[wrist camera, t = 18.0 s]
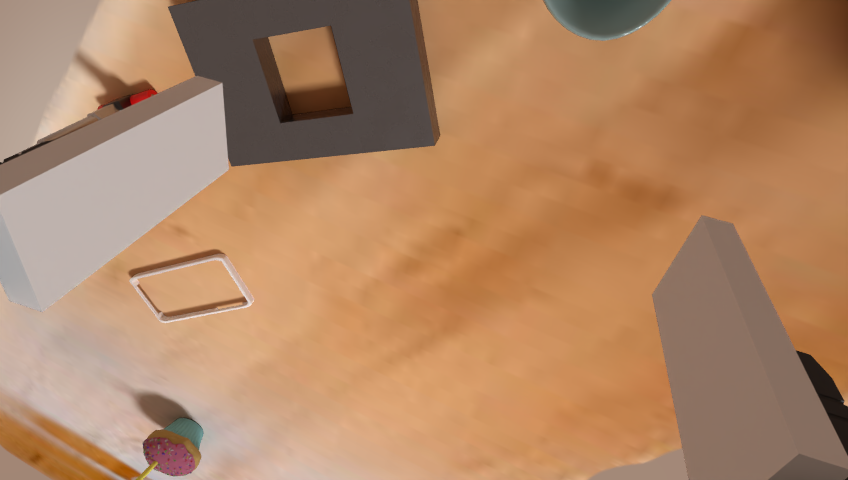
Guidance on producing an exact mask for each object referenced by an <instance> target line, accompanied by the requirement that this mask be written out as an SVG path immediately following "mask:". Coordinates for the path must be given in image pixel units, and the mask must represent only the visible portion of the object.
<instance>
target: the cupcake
mask: <svg viewBox="0 0 848 480" xmlns="http://www.w3.org/2000/svg"><path fill="white" fill-rule="evenodd" d="M202 437H203V430H202V428H201V427H200V426H199V425H198V424H197V423H196V422H194V421H192V420H190V419H187V418H179V419H177V420H175V421H174V422H173V423H172V424H170V425H169V426H167V427H166V428H164V429H163V430H155V431H154V432H153V433H152V434H150V435H149V436H148V438H147V439H146V440H145V441H144V442H143V448H144V452H143V453H144V454H145V455H144V456H146V458H145V459H146V460H147V462H148V463H149V464H150V466H149V467H148V468H147V469H146V470H145V471H144V472H143V473H142V474H141V475H140V476H139V477H138V478H137V479H136V480H142V479H143V478H144V477H145V476H146V475H147V474H148V473H149V472H150V471H151V470H152V469H155V470H158V471H160V472H162V473H165V474H167V475H170V476H182V475H187V474H188V473H191V472H192V471H193V470H195V469H196V468H197V466H198V464H199V461H200V459H201V454H200V452H199V446H200V443H201V440H202Z"/></svg>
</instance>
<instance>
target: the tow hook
mask: <svg viewBox="0 0 848 480" xmlns="http://www.w3.org/2000/svg"><path fill="white" fill-rule="evenodd" d="M156 94H157V92H156V91H154V90H152V89H150V90H147V91H144V92H141V93H138V94H131V95H128V96H125V97H122V98H119V99H116V100H114V101H112V102H110V103H107V104H104V105H101V106H99V107H98V110H96V111H94V112H92V113H90V114H88V115H87V117H86V118H84V119H82V120H80V121H78V122H76V123H74V124H71V125H69V126H67V127H65V128H63V129H61V130H59V131H57V132H55V133H53V134H50V135H48V136H46V137H44V138H42V139H40V140H38V141H37V144H36V145H38V144H40V143H42V142H45V141H50V140H54V139H58V138H61V137H63V136H65V135H67V134H70V133H72V132H74V131H76V130H78V129H81V128H83V127H85V126H87V125H89V124H92V123H94V122H96V121H98V120H101V119H103V118H105V117H107V116H109V115H112V114H114V113H116V112H118V111H120V110H123V109H125V108H127V107H129V106H131V105H134V104H136V103H138V102H140V101H143V100H145V99H147V98H149V97H151V96H154V95H156ZM36 145H34V146H36ZM32 147H33V146H32ZM30 148H31V147H30ZM28 149H29V148H28ZM26 150H27V149H26ZM21 153H22V152H19V153H18V154H20V155H21Z"/></svg>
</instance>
